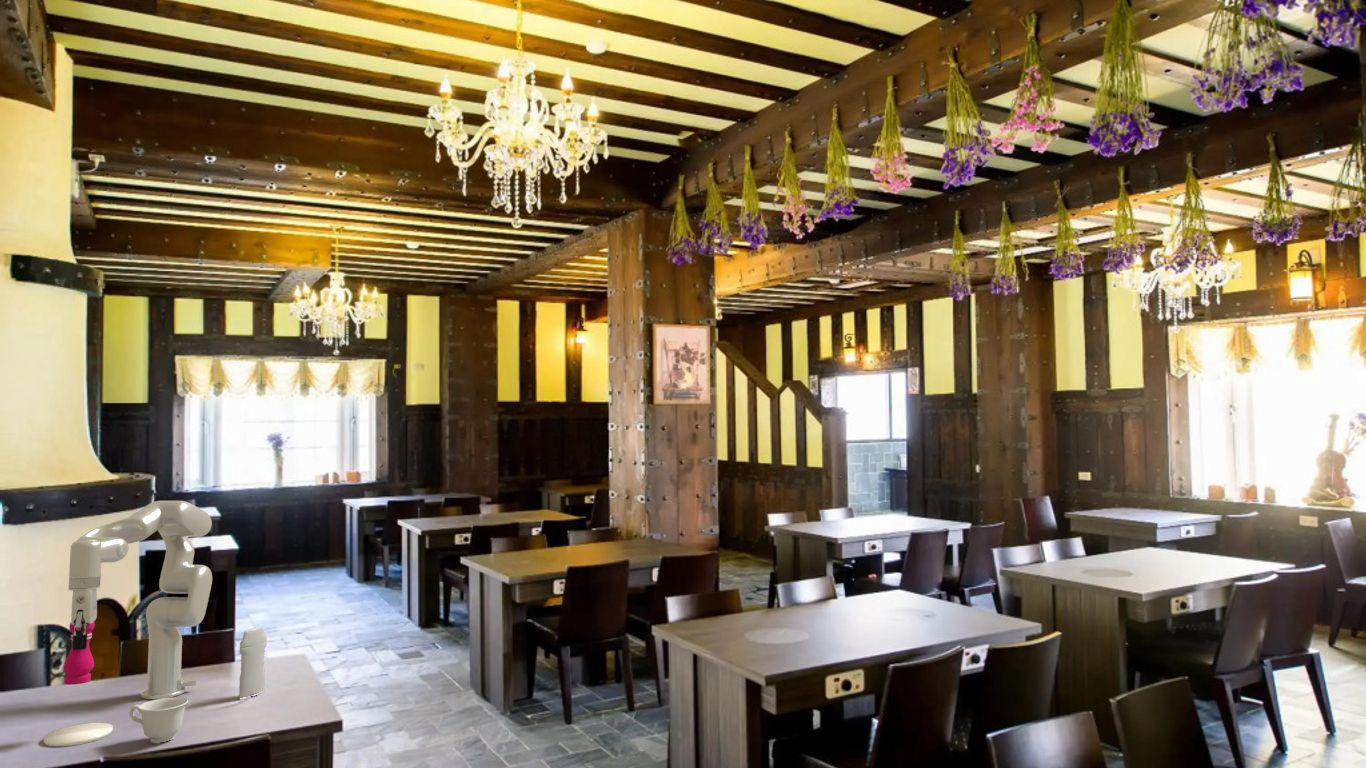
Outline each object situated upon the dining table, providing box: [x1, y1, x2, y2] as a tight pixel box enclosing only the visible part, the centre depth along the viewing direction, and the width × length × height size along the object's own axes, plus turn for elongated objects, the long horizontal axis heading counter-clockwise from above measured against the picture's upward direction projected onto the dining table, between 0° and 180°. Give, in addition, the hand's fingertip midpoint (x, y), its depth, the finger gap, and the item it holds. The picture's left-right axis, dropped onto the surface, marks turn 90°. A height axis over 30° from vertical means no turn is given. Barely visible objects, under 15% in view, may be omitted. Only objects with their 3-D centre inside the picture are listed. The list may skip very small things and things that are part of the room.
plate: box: [43, 722, 114, 747], centre depth 240 cm, size 16×16×1 cm
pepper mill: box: [62, 620, 96, 686], centre depth 243 cm, size 7×7×20 cm
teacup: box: [129, 696, 189, 744], centre depth 237 cm, size 12×15×10 cm
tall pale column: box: [238, 626, 267, 699], centre depth 278 cm, size 11×4×22 cm, turn 161°
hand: (81, 646), depth 243 cm, fingers closed on pepper mill, 5 cm apart
